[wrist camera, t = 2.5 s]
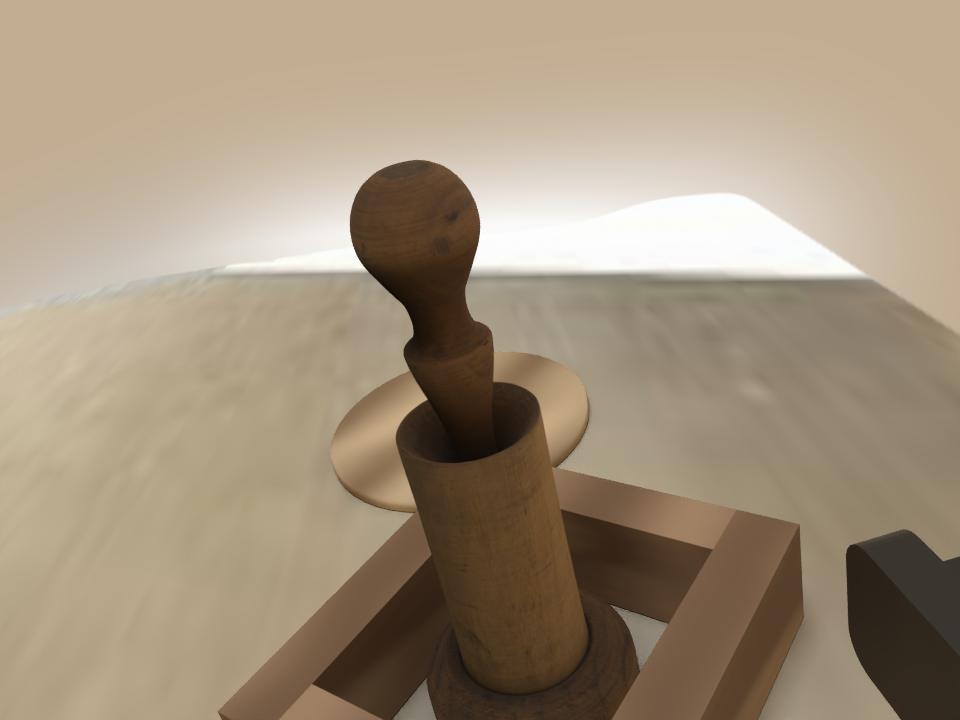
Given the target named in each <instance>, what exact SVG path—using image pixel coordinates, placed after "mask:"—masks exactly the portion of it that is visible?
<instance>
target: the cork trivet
mask: <svg viewBox="0 0 960 720" xmlns="http://www.w3.org/2000/svg"><path fill="white" fill-rule="evenodd" d="M493 382H506V383H512V384H516V385H518V386H521V387H523V388H525V389H527V390H528V391H530V392H531V393H533V394H534V395H535V396H536V398H537V399H538V402H539V405H540V409H541V414H542V418H543V423H544V429H545V434H546V439H547V444H548V449H549V455H550V460H551V465H552V467H556V466H557V465H559V464H560V463H561V462H562V461H563V460H564V459H565V458H566V457H567V456H568V455H569V454H570V453H571V452H572V451H573V449H574V448H575V447H576V445H577V444H578V443H579V441H580V439H581V438H582V436H583V434H584V432H585V429H586V426H587V423H588V417H589V408H588V402H587V396H586V391H585V389H584V387H583V384H582V382H581V381H580V380H579V378H578V377H577V376H576V375H575V374H574V373H573V372H572V371H571V370H569V369H568V368H566V367H565V366H563V365H561V364H560V363H557V362H555V361H553V360H550V359H547V358H544V357H541V356H537V355H532V354H526V353H517V352H494V377H493ZM426 400H428V399H427V398H426V396H425V395H424V393H423V392H422V390H421V389H420V387H419V385H418V384H417V382H416V380H415V379H414V377H413V375H412V373H411V371H408V372H406V373H404V374H402V375H399V376H397V377H396V378H394V379H392V380H390V381H388V382H386V383H385V384H383V385H381V386H380V387H378V388H377V389H375V390H373V391H372V392H371V393H369V394H368V395H367V396H365V397H364V398H363V399H362V400H361V401H359V402H358V403H357V404H356V405H355V406H354V407H353V408H352V409H351V410H350V411H349V412H348V413H347V414H346V416H345V417H344V418H343V420H342V421H341V423H340V424H339V426H338V428H337V430H336V432H335V434H334V437H333V440H332V443H331V458H332V463H333V466H334V468H335V471H336V474H337V476H338V478H339V480H340V482H341V483H342V484H343V486H344V487H345V488H346V489H347V490H348V491H349V492H350V493H351V494H353V495H354V496H356V497H357V498H359V499H361V500H363V501H364V502H367V503H369V504H372V505H375V506H377V507H381V508H386V509H390V510H396V511H404V512H416V511H417V507H416V504H415V500H414V498H413V494H412V491H411V488H410V485H409V482H408V479H407V476H406V473H405V470H404V467H403V464H402V461H401V458H400V455H399V452H398V448H397V445H396V432H397V429H398V427H399V425H400V423H401V421H402V420H403V419H404V417H405V416H406V415H407V414H408V413H409V412H410V411H411V410H413V409H414V408H415V407H417V406H418V405H419V404H421V403H422V402H424V401H426Z"/></svg>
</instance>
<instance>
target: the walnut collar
mask: <svg viewBox="0 0 960 720" xmlns="http://www.w3.org/2000/svg"><path fill="white" fill-rule="evenodd" d="M552 470H553V475H554V480H555V485H556V490H557V494H558V499H559V504H560V509H561V514H562V519H563V524H564V528H565V533H566V538H567V542H568V547H569V551H570V556H571V560H572V565H573V569H574V574H575V578H576V583H577V587H578V588H579V589H582V590H585V591H587V592H589V593H592V594H593V595H595V596H597V597H599V598H601V599H602V600H604V601H605V602H606V603H609V604H612V605H615V606H618V607H621V608H624V609H627V610H630V611H633V612H636V613H640V614H643V615H646V616H649V617H652V618H655V619H658V620H661V621H664V622H667V623H669V624H668V626H667V628H666V629H665V631H664V633H663V634H662V636H661V638H660V639H659V641H658V643H657V644H656V646H655V648H654V649H653V651H652V653H651V655H650V656H649V658H648V660H647V661H646V663H645V665H644V666H643V668H642V670H641V671H640V673H639V675H638V676H637V678H636V680H635V681H634V683H633V685H632V686H631V688H630V690H629V691H628V693H627V695H626V697H625V698H624V700H623V702H622V703H621V705H620V707H619V708H618V710H617V712H616V713H615V715H614V717H613V718H612V720H757V719H758V717H759V715H760V713H761V710H762V708H763V706H764V704H765V702H766V699H767V697H768V695H769V693H770V690H771V688H772V686H773V684H774V682H775V679H776V677H777V675H778V673H779V670H780V668H781V666H782V664H783V662H784V659H785V657H786V655H787V653H788V651H789V648H790V646H791V644H792V642H793V639H794V637H795V635H796V633H797V631H798V628H799V626H800V624H801V622H802V619H803V617H804V613H803V591H802V570H801V548H800V526H799V524H796V523H791V522H787V521H783V520H778V519H774V518H770V517H766V516H761V515H757V514H753V513H748V512H744V511H740V510H735V509H731V508H727V507H723V506H718V505H714V504H710V503H705V502H701V501H697V500H692V499H688V498H684V497H680V496H675V495H671V494H667V493H662V492H658V491H654V490H649V489H645V488H641V487H637V486H632V485H628V484H624V483H619V482H615V481H611V480H606V479H602V478H598V477H594V476H589V475H585V474H581V473H576V472H572V471H568V470H564V469H559V468H555V467H552ZM450 621H451V617H450V614H449V611H448V607H447V604H446V600H445V597H444V594H443V590H442V587H441V584H440V580H439V577H438V574H437V571H436V567H435V564H434V561H433V558H432V554H431V551H430V548H429V545H428V542H427V538H426V535H425V532H424V529H423V526H422V522H421V519H420V516H419V513H418V510H417V511H416V512H415V513H414V514H413V515H412V516H411V517H410V518H409V519H408V520H407V521H406V522H405V523H404V524H403V525H402V526H401V527H400V528H399V529H398V530H397V531H396V532H395V533H394V534H393V535H392V536H391V537H390V538H389V539H388V540H387V541H386V542H385V543H384V545H383V546H382V547H381V548H380V549H379V550H378V551H377V552H376V553H375V554H374V555H373V556H372V557H371V558H370V559H369V560H368V561H367V562H366V563H365V564H364V565H363V566H362V567H361V568H360V569H359V570H358V571H357V572H356V573H355V574H354V575H353V576H352V577H351V578H350V579H349V580H348V581H347V582H346V583H345V584H344V585H343V586H342V587H341V588H340V589H339V590H338V591H337V592H336V593H335V594H334V595H333V596H332V597H331V598H330V599H329V600H328V601H327V602H326V603H325V604H324V605H323V606H322V607H321V608H320V609H319V610H318V611H317V612H316V613H315V614H314V615H313V616H312V617H311V618H310V619H309V620H308V621H307V622H306V623H305V624H304V625H303V626H302V627H301V628H300V629H299V630H298V631H297V632H296V633H295V634H294V635H293V636H292V637H291V638H290V639H289V640H288V641H287V642H286V643H285V644H284V645H283V646H282V647H281V648H280V649H279V650H278V651H277V652H276V653H275V654H274V655H273V656H272V657H271V658H270V659H269V660H268V661H267V662H266V663H265V664H264V665H263V666H262V667H261V668H260V669H259V670H258V671H257V672H256V673H255V674H254V675H253V676H252V677H251V678H250V679H249V680H248V681H247V682H246V683H245V684H244V685H243V686H242V687H241V688H240V689H239V690H238V691H237V692H236V693H235V694H234V695H233V697H232V698H231V699H230V700H229V701H228V702H227V703H226V704H225V705H224V706H223V707H222V708H221V709H220V710H219V711H218V713H219V715H220V717H221V719H222V720H391V719H392V718H393V717H394V716H395V714H396V713H397V712H398V711H399V710H400V708H401V707H402V706H403V705H404V703H405V702H406V701H407V700H408V698H409V697H410V696H411V695H412V694H413V692H414V691H415V690H416V689H417V687H418V686H419V685H420V684H421V682H422V681H423V680H424V679H425V678H426V676H427V666H428V661H429V656H430V653H431V651H432V648H433V646H434V644H435V642H436V640H437V638H438V637H439V635H440V634H441V632H442V631H443V630H444V628H445V627H446V626H447V625H448V624H449V623H450Z"/></svg>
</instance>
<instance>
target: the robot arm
mask: <svg viewBox="0 0 960 720" xmlns="http://www.w3.org/2000/svg"><path fill="white" fill-rule="evenodd" d="M846 568H847V597H848V625H849V633H850V637H851V641H852V644H853V647H854V650H855V652H856V655H857V657H858V659H859V661H860V663H861V665H862V667H863V668H864V670H865V672H866V673H867V675H868V676H869V677H870V679H871V680H872V681H873V683H874V684H875V685H876V687H877V688H878V689H879V691H880V692H881V693H882V695H883V696H884V697H885V699H886V700H887V701H888V703H889V704H890V705H891V707H892V708H893V709H894V711H895V712H896V713H897V715H898V716H899V717H900V719H901V720H960V557H957V558H953V559H950V560H947V561H942V560H941V559H940V558H939V557H938V556H937V555H936V554H935V553H934V552H933V551H932V550H931V549H930V548H929V547H928V546H927V545H926V544H925V543H924V542H923V541H922V540H921V539H920V538H919V537H918V536H916V535H915V534H914V533H912V532H911V531H909V530H904V529H903V530H900V531H896V532H893V533H890V534H886V535H883V536H880V537H876V538H873V539H870V540H866V541H863V542H860V543H856V544H853V545H850V546H849V547H848V549H847V553H846Z"/></svg>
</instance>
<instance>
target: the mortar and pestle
mask: <svg viewBox="0 0 960 720" xmlns="http://www.w3.org/2000/svg"><path fill="white" fill-rule="evenodd" d="M350 233H351V239H352V243H353V246H354V249H355V252H356V254H357V256H358V258H359V260H360V261H361V263H362V264H363V266H364V267H365V268H366V269H367V270H368V272H369V273H370V274H371V275H372V276H373V277H374V278H375V279H376V280H377V281H378V282H379V283H380V284H381V285H382V286H383V287H384V288H385V289H386V290H388V291H389V292H390V293H391V294H392V295H393V296H394V297H395V298H396V299H397V300H399V301H400V302H401V303H402V304H403V305H404V306H405V308H406V310H407V312H408V314H409V316H410V318H411V321H412V324H413V330H414V335H413V337H412V338H411V339H410V340H409V341H408V342H407V344H406V345H405V348H404V358H405V360H406V363H407V365H408V367H409V369H410V371H411V373H412V375H413V377H414V379H415V380H416V382H417V384H418V385H419V387H420V389H421V390H422V392H423V393H424V395H425V396H426V398H427V399H428V400H426V401H424V402H422V403H421V404H419V405H418V406H417V407H415V408H414V409H413V410H411V411H410V412H409V413H408V414H407V415H406V416H405V417H404V419H403V420H402V421H401V423H400V425H399V427H398V429H397V432H396V445H397V448H398V452H399V455H400V458H401V461H402V464H403V467H404V470H405V473H406V476H407V479H408V482H409V485H410V488H411V491H412V494H413V498H414V500H415V504H416V507H417V510H418V513H419V516H420V519H421V522H422V526H423V529H424V532H425V535H426V538H427V542H428V545H429V548H430V551H431V554H432V558H433V561H434V564H435V567H436V571H437V574H438V577H439V580H440V584H441V587H442V590H443V594H444V597H445V600H446V604H447V607H448V611H449V614H450V617H451V621H450V623H449V624H448V625H447V626H446V627H445V628H444V630H443V631H442V632H441V634H440V635H439V637H438V638H437V640H436V642H435V644H434V646H433V648H432V651H431V653H430V656H429V661H428V666H427V686H428V692H429V696H430V700H431V703H432V706H433V710H434V713H435V716H436V719H437V720H612V718H613V717H614V715H615V713H616V712H617V710H618V708H619V707H620V705H621V703H622V702H623V700H624V698H625V697H626V695H627V693H628V691H629V690H630V688H631V686H632V685H633V683H634V681H635V680H636V678H637V676H638V675H639V673H640V671H639V666H638V661H637V656H636V651H635V646H634V642H633V639H632V636H631V634H630V631H629V629H628V627H627V625H626V623H625V622H624V620H623V619H622V617H621V616H620V615H619V614H618V613H617V612H616V610H615V609H613V608H612V607H611V606H610V605H609V604H608V603H606V602H605V601H604V600H602V599H601V598H599V597H597V596H595V595H593V594H592V593H589V592H587V591H585V590H582V589H579V588H578V587H577V583H576V578H575V574H574V569H573V565H572V560H571V556H570V551H569V547H568V542H567V538H566V533H565V528H564V524H563V519H562V514H561V509H560V504H559V499H558V494H557V490H556V485H555V480H554V475H553V470H552V465H551V460H550V455H549V449H548V444H547V439H546V434H545V429H544V423H543V418H542V414H541V409H540V405H539V402H538V399H537V398H536V396H535V395H534V394H533V393H531V392H530V391H528V390H527V389H525V388H523V387H521V386H518V385H516V384H512V383H506V382H493V377H494V348H493V338H492V332H491V330H490V329H489V328H488V327H487V326H486V325H484V324H482V323H480V322H476V321H474V320H473V318H472V317H471V315H470V313H469V310H468V308H467V304H466V297H465V287H466V284H467V280H468V277H469V274H470V271H471V268H472V264H473V260H474V257H475V253H476V250H477V246H478V242H479V235H480V219H479V214H478V209H477V206H476V203H475V201H474V199H473V197H472V195H471V193H470V191H469V189H468V188H467V187H466V185H465V184H464V183H463V182H462V180H461V179H460V178H459V177H458V176H457V175H456V174H454V173H453V172H452V171H451V170H449V169H447V168H445V167H444V166H442V165H440V164H436V163H433V162H430V161H424V160H412V161H406V162H401V163H397V164H394V165H391V166H388V167H386V168H383V169H381V170H379V171H378V172H376V173H375V174H373V175H372V176H371V177H370V178H369V179H368V180H367V181H366V182H365V183H364V184H363V185H362V186H361V188H360V189H359V191H358V193H357V194H356V197H355V199H354V202H353V205H352V210H351V215H350Z"/></svg>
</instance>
